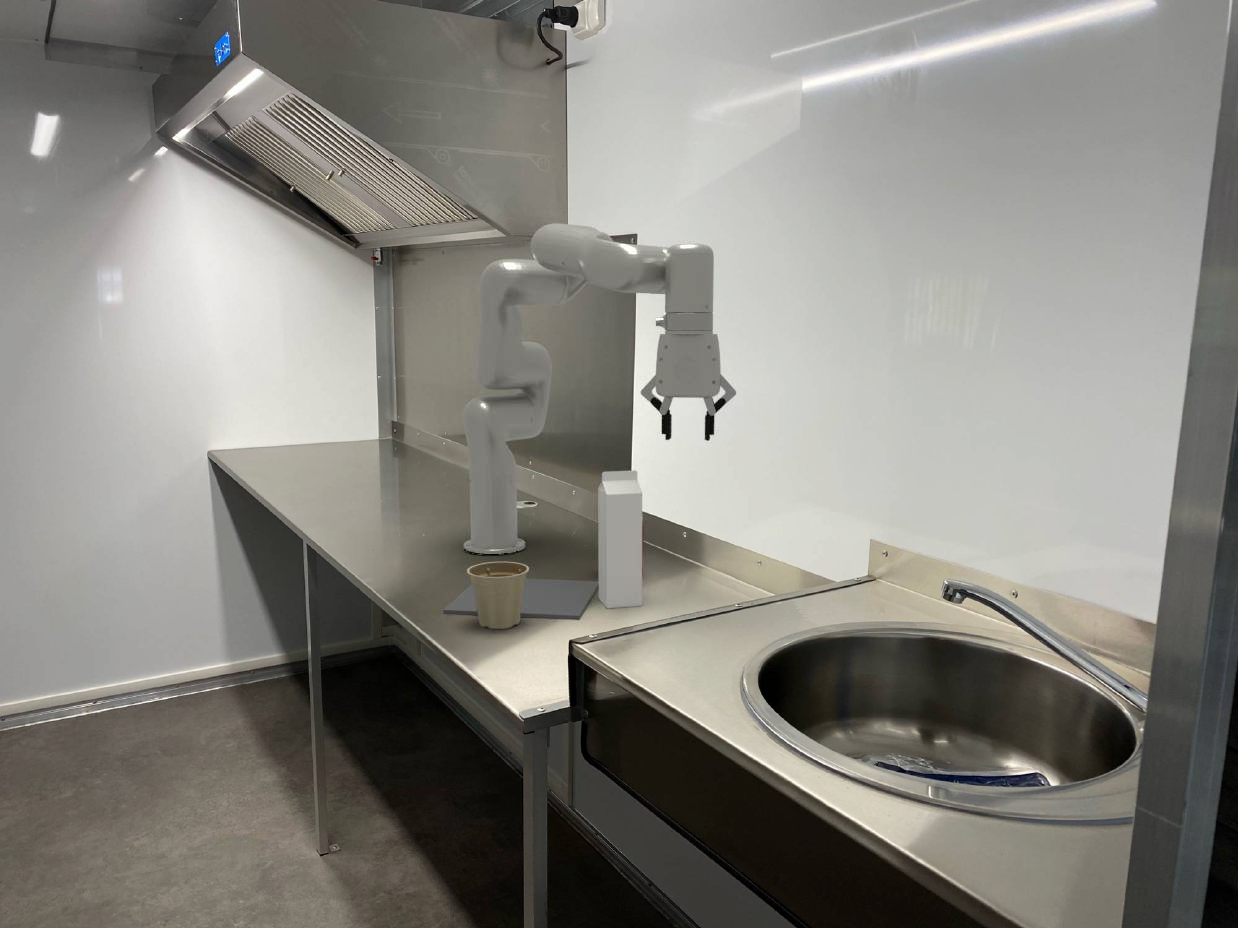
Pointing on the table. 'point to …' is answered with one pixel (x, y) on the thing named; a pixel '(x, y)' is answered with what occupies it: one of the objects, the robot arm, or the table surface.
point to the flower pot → (498, 592)
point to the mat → (539, 599)
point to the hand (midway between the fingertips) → (687, 438)
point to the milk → (620, 539)
